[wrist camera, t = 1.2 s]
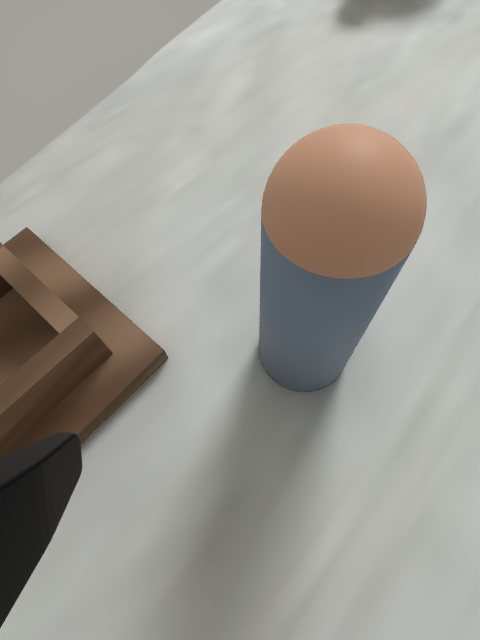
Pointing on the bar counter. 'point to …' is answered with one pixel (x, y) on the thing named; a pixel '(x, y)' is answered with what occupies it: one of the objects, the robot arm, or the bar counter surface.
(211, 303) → the bar counter surface
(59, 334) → the jig cradle
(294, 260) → the dome-capped blue cylinder
